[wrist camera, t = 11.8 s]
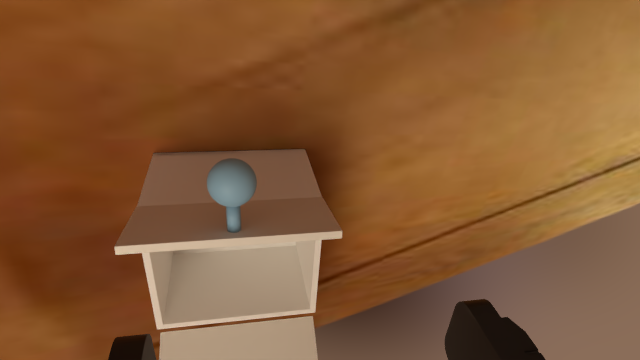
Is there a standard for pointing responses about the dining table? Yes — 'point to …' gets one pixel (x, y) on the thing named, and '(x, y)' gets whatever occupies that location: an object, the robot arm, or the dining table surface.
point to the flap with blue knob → (227, 218)
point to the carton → (235, 261)
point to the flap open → (243, 341)
